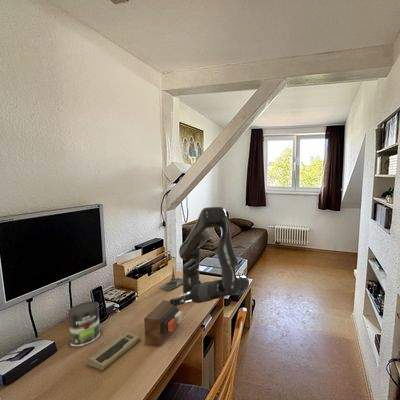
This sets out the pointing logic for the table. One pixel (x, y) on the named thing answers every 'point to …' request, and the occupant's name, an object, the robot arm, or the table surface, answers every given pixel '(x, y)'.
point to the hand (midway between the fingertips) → (179, 298)
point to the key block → (159, 323)
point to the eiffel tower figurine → (172, 283)
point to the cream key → (178, 316)
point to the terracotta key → (172, 325)
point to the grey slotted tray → (113, 351)
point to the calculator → (110, 307)
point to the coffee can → (84, 323)
